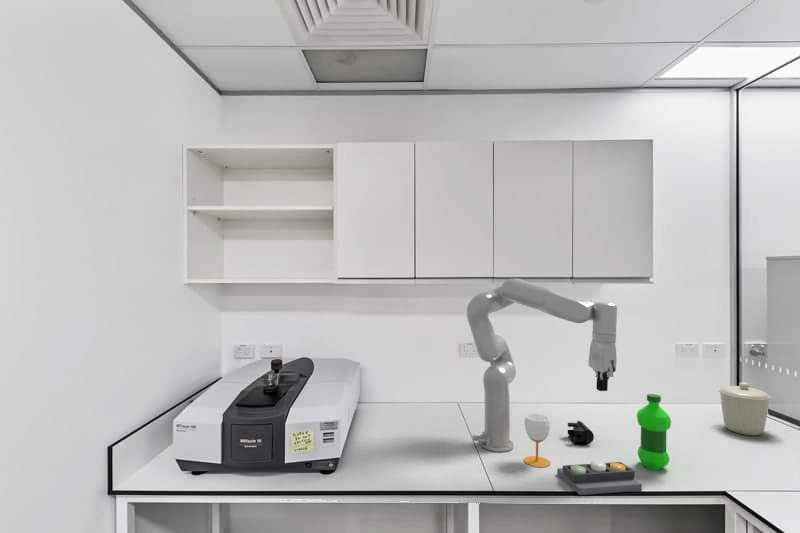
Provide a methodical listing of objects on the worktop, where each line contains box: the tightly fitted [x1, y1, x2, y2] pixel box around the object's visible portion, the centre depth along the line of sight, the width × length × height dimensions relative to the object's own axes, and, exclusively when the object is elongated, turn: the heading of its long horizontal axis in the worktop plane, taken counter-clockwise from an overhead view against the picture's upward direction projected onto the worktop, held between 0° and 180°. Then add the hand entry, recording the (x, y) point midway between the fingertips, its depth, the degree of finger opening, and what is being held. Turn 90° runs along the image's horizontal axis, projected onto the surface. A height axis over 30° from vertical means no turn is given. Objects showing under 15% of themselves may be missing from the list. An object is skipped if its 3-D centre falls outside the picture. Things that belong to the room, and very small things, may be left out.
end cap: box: [567, 420, 595, 447], centre depth 184 cm, size 10×7×7 cm
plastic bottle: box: [636, 393, 672, 471], centre depth 161 cm, size 10×10×25 cm
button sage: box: [571, 464, 586, 474], centre depth 148 cm, size 5×5×2 cm
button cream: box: [590, 460, 606, 473], centre depth 149 cm, size 5×5×2 cm
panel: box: [556, 461, 643, 496], centre depth 149 cm, size 21×14×4 cm, turn 99°
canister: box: [718, 381, 772, 436], centre depth 196 cm, size 18×18×21 cm
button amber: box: [610, 462, 626, 471], centre depth 150 cm, size 5×5×2 cm
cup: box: [523, 413, 551, 468], centre depth 164 cm, size 9×9×16 cm
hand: (601, 390), depth 160 cm, fingers closed
